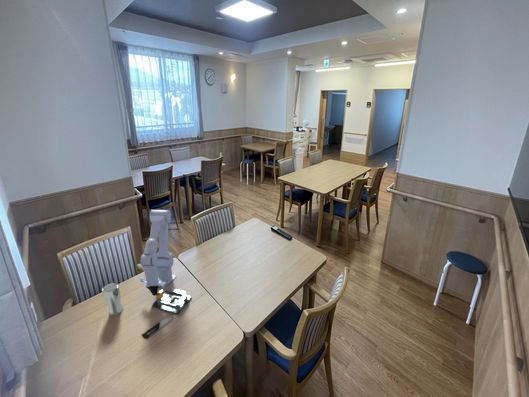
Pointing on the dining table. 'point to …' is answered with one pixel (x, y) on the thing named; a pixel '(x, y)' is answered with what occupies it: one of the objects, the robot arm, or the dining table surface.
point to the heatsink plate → (177, 302)
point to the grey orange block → (164, 297)
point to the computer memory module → (157, 327)
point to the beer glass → (112, 298)
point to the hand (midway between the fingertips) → (155, 294)
